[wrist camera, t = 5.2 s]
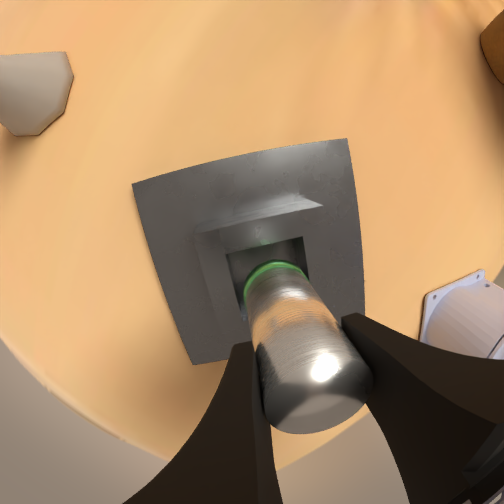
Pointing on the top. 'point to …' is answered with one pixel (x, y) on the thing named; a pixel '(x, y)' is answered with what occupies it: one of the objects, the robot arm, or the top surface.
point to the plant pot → (495, 46)
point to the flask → (33, 90)
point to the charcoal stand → (252, 236)
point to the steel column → (301, 352)
